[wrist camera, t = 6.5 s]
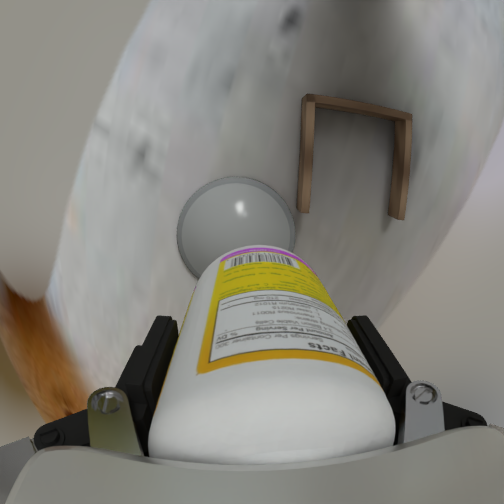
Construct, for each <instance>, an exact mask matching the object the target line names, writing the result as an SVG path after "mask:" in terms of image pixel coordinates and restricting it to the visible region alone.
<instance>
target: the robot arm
mask: <svg viewBox="0 0 504 504" xmlns="http://www.w3.org/2000/svg"><path fill="white" fill-rule="evenodd" d="M347 327H348V329H349V330H350V332H351V334H352V336H353V338H354V339H355V341H356V343H357V345H358V346H359V348H360V350H361V352H362V354H363V355H364V357H365V359H366V361H367V362H368V364H369V366H370V368H371V370H372V371H373V373H374V375H375V377H376V378H377V380H378V382H379V384H380V386H381V387H382V389H383V391H384V393H385V395H386V398H387V400H388V402H389V404H390V406H391V408H392V411H393V415H394V419H395V439H394V443H393V446H391V447H387V448H383V449H379V450H374V451H370V452H365V453H361V454H355V455H350V456H344V457H338V458H332V459H325V460H317V461H309V462H299V463H286V464H268V465H223V464H204V463H192V462H182V461H173V460H166V459H158V458H151V457H150V456H149V449H148V437H149V431H150V427H151V423H152V419H153V415H154V412H155V409H156V405H157V402H158V399H159V396H160V393H161V390H162V386H163V383H164V380H165V377H166V374H167V370H168V367H169V364H170V361H171V358H172V355H173V352H174V348H175V346H176V343H177V340H178V336H179V335H178V328H177V321H176V320H172V317H171V316H157V317H156V319H155V321H154V323H153V325H152V327H151V329H150V331H149V333H148V335H147V337H146V339H145V341H144V343H143V345H142V346H140V345H138V346H136V347H135V348H134V350H133V352H132V354H131V356H130V358H129V360H128V362H127V364H126V366H125V368H124V370H123V372H122V374H121V377H120V379H119V381H118V383H117V385H116V387H104V388H100V389H98V390H96V391H94V392H93V393H92V394H91V395H90V396H89V398H88V401H87V409H85V410H82V411H80V412H77V413H75V414H72V415H69V416H67V417H64V418H61V419H59V420H56V421H53V422H50V423H48V424H45V425H43V426H41V427H40V428H39V429H38V430H37V431H36V433H35V435H34V438H33V439H30V438H29V437H26V438H23V439H21V440H18V441H15V442H12V443H10V444H7V445H4V446H1V447H0V504H504V428H502V427H499V426H496V425H493V424H489V426H487V423H486V421H485V420H484V418H483V417H482V416H481V415H479V414H477V413H475V412H472V411H469V410H466V409H463V408H460V407H457V406H454V405H451V404H448V403H445V402H442V397H441V393H440V390H439V389H438V388H437V387H436V386H435V385H434V384H432V383H430V382H427V381H414V382H411V381H410V379H409V378H408V376H407V374H406V373H405V371H404V370H403V368H402V367H401V365H400V364H399V362H398V361H397V359H396V358H395V356H394V355H393V353H392V352H391V350H390V349H389V347H388V346H387V344H386V343H385V341H384V340H383V338H382V337H381V335H380V334H379V333H378V331H377V330H376V328H375V327H374V325H373V324H372V322H371V321H370V320H369V318H368V317H367V316H353V317H352V319H351V320H348V323H347Z"/></svg>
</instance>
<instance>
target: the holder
mask: <svg viewBox="0 0 504 504" xmlns="http://www.w3.org/2000/svg"><path fill="white" fill-rule="evenodd" d="M315 107H317V108H324V109H332V110H338V111H345V112H351V113H357V114H362V115H367V116H372V117H377V118H382V119H387V120H391V121H395V138H394V157H393V171H392V183H391V193H390V202H389V210H388V215H389V216H392V217H394V218H396V219H398V220H404V218H405V210H406V203H407V194H408V185H409V174H410V161H411V143H412V114H410V113H406V112H402V111H399V110H395V109H391V108H386V107H382V106H378V105H373V104H368V103H363V102H358V101H353V100H347V99H342V98H335V97H329V96H322V95H314V94H306V95H305V96H304V97H303V98H302V114H301V140H300V160H299V178H298V194H297V209H298V210H299V211H300V212H301V213H309V208H310V195H311V181H312V165H313V146H314V122H315Z"/></svg>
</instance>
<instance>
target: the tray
mask: <svg viewBox="0 0 504 504" xmlns="http://www.w3.org/2000/svg"><path fill="white" fill-rule="evenodd" d="M177 243H178V247H179V251H180V254H181V256H182V258H183V260H184V262H185V264H186V265H187V267H188V268H189V269H190V271H191V272H192V273H193V274H194V275H195V276H196V277H198V278H199V279H200V277H201V275H202V274H203V272H204V271H205V270H206V269H207V267H208V266H209V265H210V264H211V263H212V262H214V261H215V260H216V259H217V258H219V257H220V256H222V255H224V254H225V253H227V252H230V251H232V250H234V249H237V248H241V247H245V246H252V245H267V246H274V247H278V248H282V249H284V250H287V251H289V252H291V253H292V252H293V249H294V244H295V225H294V221H293V217H292V215H291V212H290V210H289V208H288V207H287V205H286V203H285V202H284V201H283V199H282V198H281V197H280V196H279V195H278V194H277V193H276V192H275V191H274V190H273V189H271V188H270V187H269V186H267V185H265V184H263V183H261V182H259V181H256V180H254V179H250V178H245V177H227V178H222V179H218V180H215V181H213V182H211V183H209V184H207V185H205V186H203V187H202V188H200V189H199V190H198V191H197V192H196V193H194V194H193V195H192V197H191V198H190V199H189V200H188V201H187V203H186V204H185V206H184V208H183V210H182V212H181V214H180V217H179V221H178V226H177Z"/></svg>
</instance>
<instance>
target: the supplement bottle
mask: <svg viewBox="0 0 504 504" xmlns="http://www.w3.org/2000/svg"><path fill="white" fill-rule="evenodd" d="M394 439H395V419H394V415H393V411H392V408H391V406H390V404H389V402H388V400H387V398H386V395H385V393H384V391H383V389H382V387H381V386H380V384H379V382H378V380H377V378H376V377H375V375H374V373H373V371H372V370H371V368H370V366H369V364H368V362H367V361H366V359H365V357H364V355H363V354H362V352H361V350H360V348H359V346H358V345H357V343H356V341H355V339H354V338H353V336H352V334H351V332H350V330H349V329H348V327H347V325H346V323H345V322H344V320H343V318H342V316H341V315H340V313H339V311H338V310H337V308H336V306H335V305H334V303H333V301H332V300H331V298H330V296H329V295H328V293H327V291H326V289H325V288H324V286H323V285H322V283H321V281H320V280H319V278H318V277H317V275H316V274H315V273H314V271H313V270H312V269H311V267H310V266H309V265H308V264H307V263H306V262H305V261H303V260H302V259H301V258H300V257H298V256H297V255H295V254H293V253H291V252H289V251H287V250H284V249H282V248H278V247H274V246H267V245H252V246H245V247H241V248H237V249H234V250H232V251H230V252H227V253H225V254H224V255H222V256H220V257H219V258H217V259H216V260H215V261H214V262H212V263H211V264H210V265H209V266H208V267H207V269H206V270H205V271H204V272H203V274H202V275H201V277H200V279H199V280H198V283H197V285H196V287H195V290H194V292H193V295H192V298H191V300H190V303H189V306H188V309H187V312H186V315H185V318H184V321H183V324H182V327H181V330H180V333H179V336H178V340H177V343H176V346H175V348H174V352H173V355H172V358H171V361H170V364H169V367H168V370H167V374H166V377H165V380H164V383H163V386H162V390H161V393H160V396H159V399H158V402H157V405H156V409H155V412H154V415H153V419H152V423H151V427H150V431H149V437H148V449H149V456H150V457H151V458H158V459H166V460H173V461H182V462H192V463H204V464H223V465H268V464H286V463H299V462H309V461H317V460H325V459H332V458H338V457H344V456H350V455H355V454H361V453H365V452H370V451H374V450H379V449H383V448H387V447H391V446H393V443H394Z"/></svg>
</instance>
